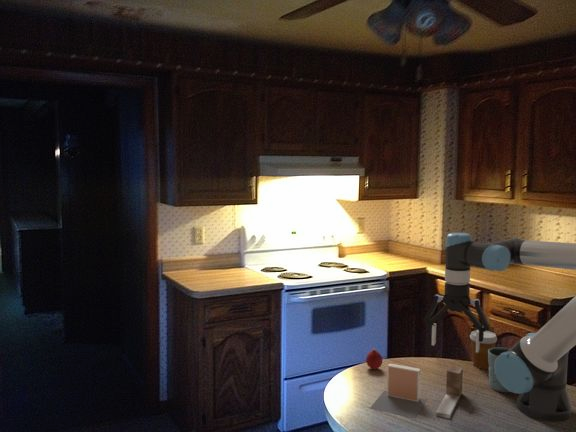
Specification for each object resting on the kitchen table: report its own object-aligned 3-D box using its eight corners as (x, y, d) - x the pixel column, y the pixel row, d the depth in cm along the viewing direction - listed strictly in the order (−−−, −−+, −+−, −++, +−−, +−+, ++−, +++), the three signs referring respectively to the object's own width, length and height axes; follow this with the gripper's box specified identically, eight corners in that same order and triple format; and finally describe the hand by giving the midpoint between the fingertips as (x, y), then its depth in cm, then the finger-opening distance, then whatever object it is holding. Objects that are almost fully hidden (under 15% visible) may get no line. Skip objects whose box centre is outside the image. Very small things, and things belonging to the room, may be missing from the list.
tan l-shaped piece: (461, 394, 179) (462, 367, 178) (449, 419, 163) (450, 390, 162) (449, 392, 181) (450, 365, 180) (435, 416, 165) (436, 387, 163)
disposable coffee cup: (469, 369, 200) (470, 337, 199) (467, 359, 209) (468, 329, 208) (497, 371, 198) (499, 339, 196) (494, 361, 207) (495, 330, 206)
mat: (426, 400, 175) (426, 399, 175) (415, 419, 163) (415, 418, 163) (384, 391, 182) (384, 390, 182) (369, 409, 169) (369, 408, 169)
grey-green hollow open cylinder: (481, 386, 186) (482, 351, 184) (496, 378, 192) (497, 344, 191) (510, 396, 178) (511, 360, 177) (524, 387, 185) (526, 352, 183)
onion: (383, 367, 202) (383, 346, 201) (381, 373, 196) (381, 352, 195) (367, 366, 203) (367, 345, 203) (364, 372, 198) (365, 350, 197)
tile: (419, 399, 175) (420, 368, 174) (418, 402, 173) (418, 371, 172) (389, 393, 180) (389, 363, 179) (387, 395, 178) (387, 365, 177)
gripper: (501, 283, 171) (498, 350, 174) (420, 275, 183) (419, 338, 185) (497, 289, 165) (495, 358, 167) (414, 280, 176) (413, 345, 179)
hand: (455, 347), depth 176 cm, fingers open, 13 cm apart
